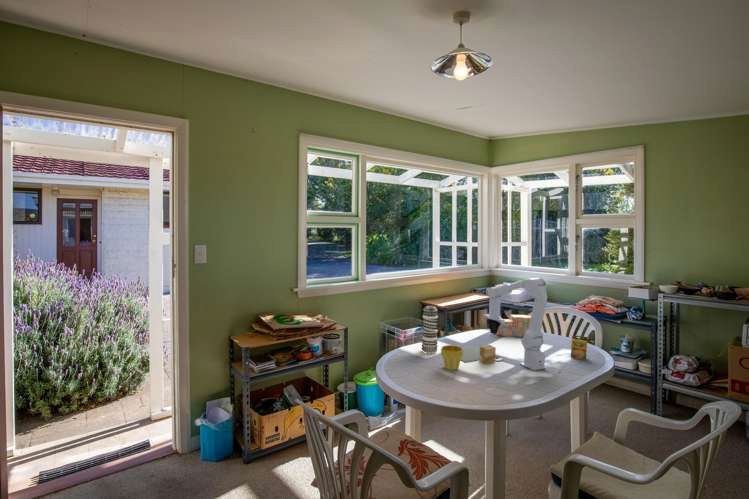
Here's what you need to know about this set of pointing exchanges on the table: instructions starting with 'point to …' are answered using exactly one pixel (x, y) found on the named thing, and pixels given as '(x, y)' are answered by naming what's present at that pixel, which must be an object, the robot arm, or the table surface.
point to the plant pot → (451, 356)
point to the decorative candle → (429, 329)
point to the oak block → (487, 354)
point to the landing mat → (472, 354)
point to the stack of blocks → (514, 326)
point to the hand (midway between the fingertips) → (493, 333)
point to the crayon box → (579, 347)
